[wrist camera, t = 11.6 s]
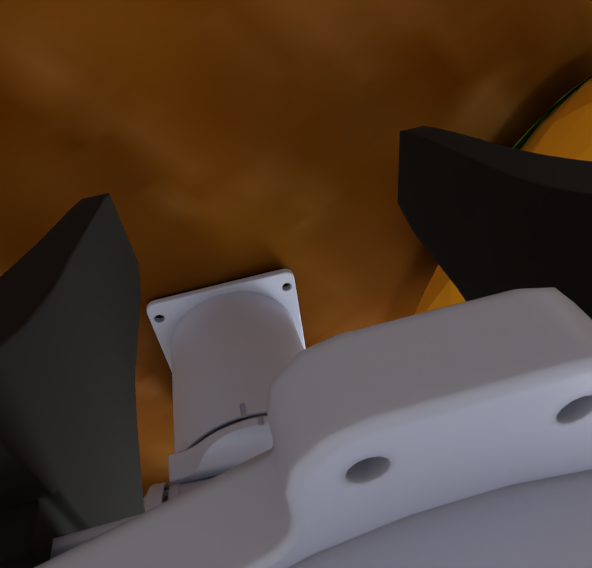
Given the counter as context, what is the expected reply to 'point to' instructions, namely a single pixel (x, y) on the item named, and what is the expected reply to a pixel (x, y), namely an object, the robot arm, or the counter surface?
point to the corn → (543, 140)
